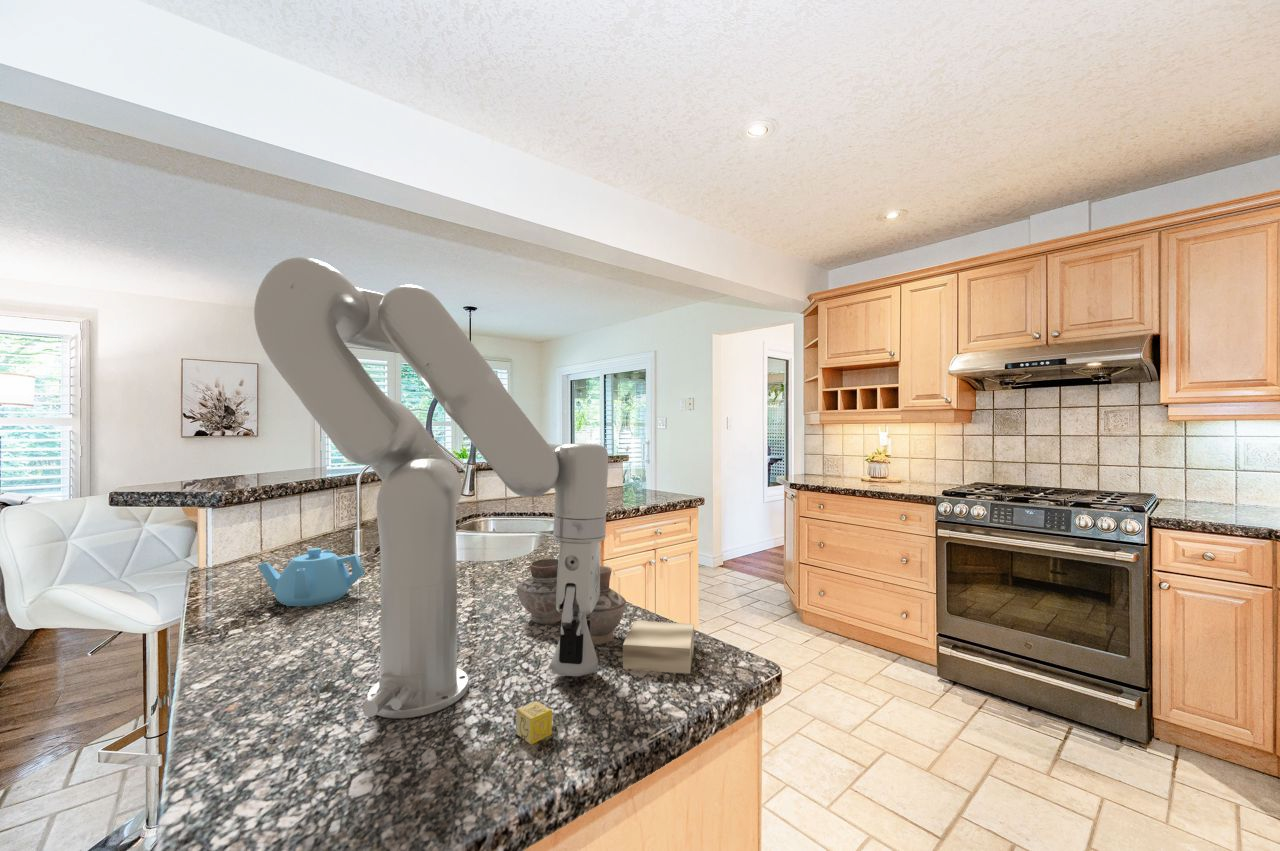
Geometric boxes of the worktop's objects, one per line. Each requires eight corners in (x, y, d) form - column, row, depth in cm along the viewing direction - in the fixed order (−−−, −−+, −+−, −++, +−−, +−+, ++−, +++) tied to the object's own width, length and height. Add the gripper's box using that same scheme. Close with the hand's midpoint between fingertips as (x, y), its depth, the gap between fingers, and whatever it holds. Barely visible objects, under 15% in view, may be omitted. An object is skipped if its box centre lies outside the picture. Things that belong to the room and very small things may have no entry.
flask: (545, 659, 77) (548, 591, 78) (593, 654, 80) (595, 589, 80) (552, 681, 70) (555, 606, 71) (604, 675, 73) (607, 603, 73)
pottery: (593, 657, 82) (592, 581, 82) (505, 619, 99) (505, 556, 99) (641, 636, 90) (641, 567, 90) (552, 605, 107) (552, 547, 107)
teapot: (294, 615, 101) (294, 560, 102) (255, 603, 109) (255, 552, 109) (368, 594, 115) (368, 545, 115) (328, 585, 122) (329, 539, 122)
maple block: (690, 676, 76) (689, 648, 76) (622, 671, 77) (622, 644, 77) (694, 648, 86) (693, 623, 86) (634, 644, 87) (634, 620, 87)
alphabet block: (537, 724, 63) (537, 699, 63) (552, 734, 61) (552, 708, 61) (515, 735, 61) (515, 709, 61) (530, 746, 58) (530, 719, 58)
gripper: (596, 540, 67) (590, 683, 66) (612, 520, 84) (608, 634, 83) (538, 537, 67) (532, 679, 67) (566, 518, 84) (562, 631, 84)
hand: (574, 653), depth 75 cm, fingers closed on flask, 4 cm apart
